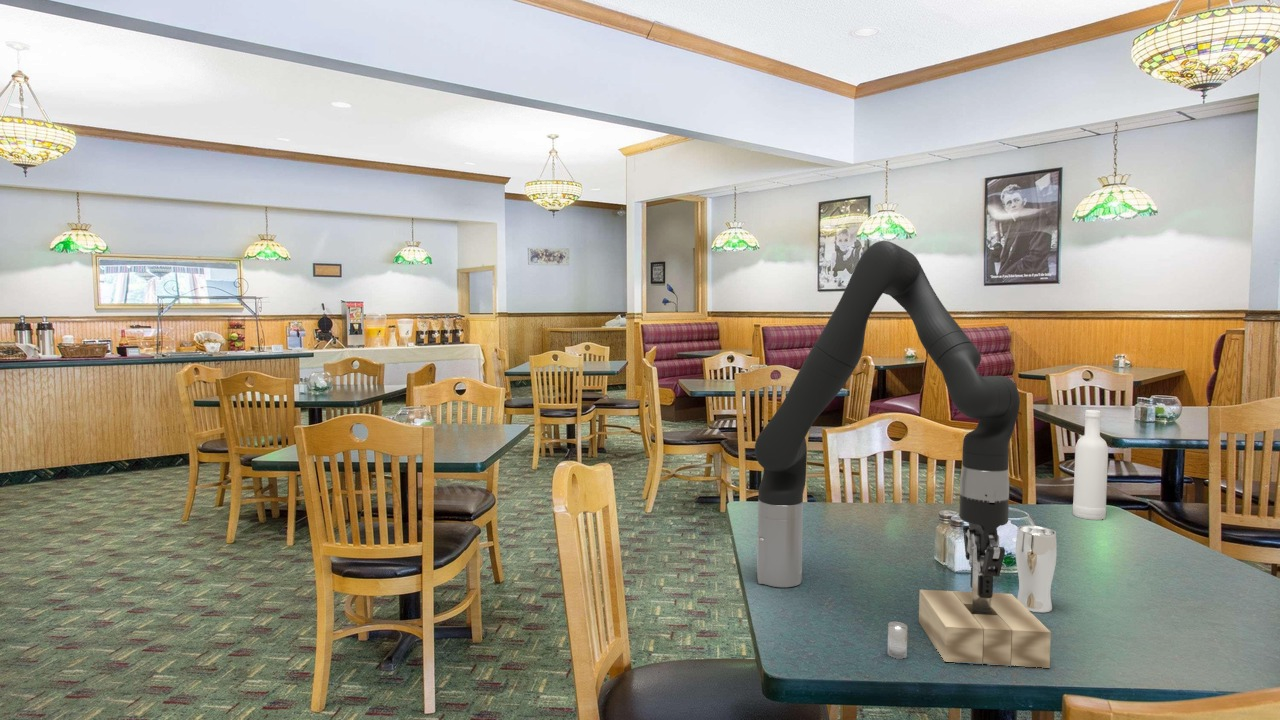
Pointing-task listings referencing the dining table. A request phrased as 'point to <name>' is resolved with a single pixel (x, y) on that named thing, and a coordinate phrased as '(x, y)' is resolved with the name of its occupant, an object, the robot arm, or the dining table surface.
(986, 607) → the long steel pin
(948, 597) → the oak hole block
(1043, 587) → the beer glass
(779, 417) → the robot arm
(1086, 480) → the bottle
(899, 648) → the short steel pin
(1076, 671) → the dining table surface
